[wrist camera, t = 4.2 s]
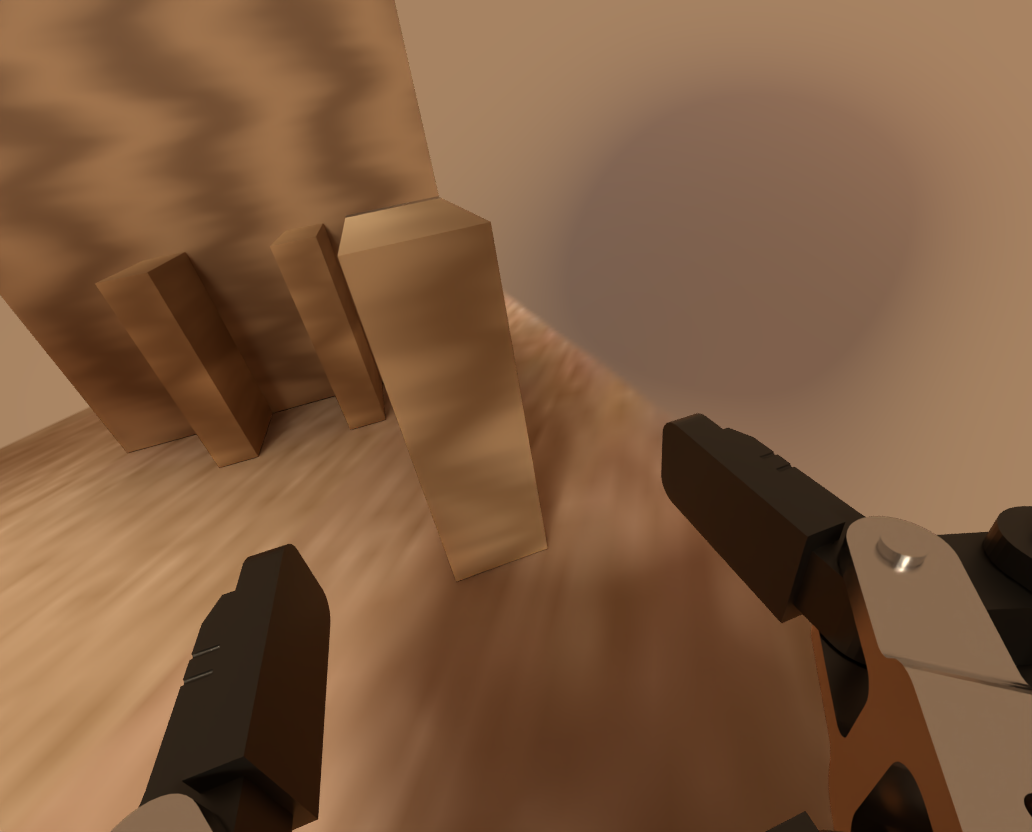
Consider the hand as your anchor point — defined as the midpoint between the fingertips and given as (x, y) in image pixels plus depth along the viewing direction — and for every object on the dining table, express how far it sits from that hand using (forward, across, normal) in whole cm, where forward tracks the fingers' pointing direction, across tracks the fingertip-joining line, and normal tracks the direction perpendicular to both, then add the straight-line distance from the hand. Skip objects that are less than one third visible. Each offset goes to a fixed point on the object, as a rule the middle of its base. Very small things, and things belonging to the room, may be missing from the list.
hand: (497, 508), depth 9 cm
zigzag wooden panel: (+20, +8, +6) cm, 22 cm away
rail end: (+8, 0, +6) cm, 10 cm away
